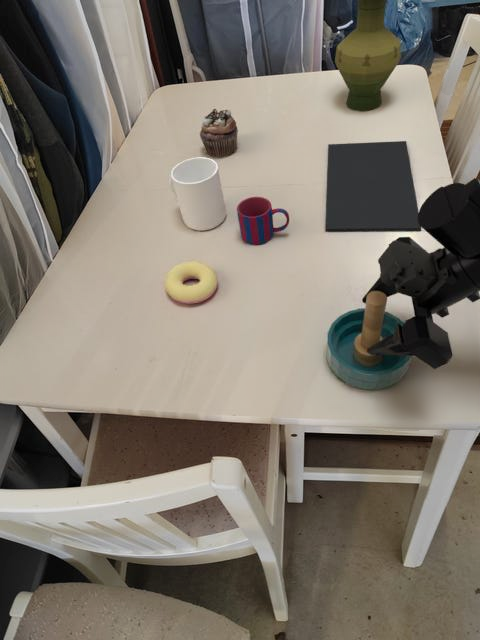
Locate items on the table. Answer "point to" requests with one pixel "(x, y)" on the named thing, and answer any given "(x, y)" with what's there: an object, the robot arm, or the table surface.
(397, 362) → the bowl
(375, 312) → the stick
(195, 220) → the mug
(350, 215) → the mat
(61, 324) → the table surface
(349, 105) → the vase
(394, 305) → the table surface
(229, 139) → the cupcake
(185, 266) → the donut
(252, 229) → the cup
